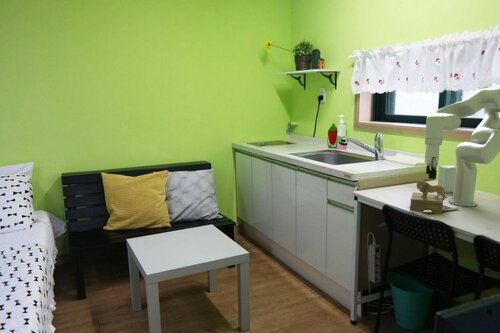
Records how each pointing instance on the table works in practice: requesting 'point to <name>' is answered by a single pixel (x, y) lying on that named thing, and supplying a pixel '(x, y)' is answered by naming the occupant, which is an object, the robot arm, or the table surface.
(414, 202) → the walnut box
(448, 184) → the skincare box
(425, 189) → the lion figurine
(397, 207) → the table surface
